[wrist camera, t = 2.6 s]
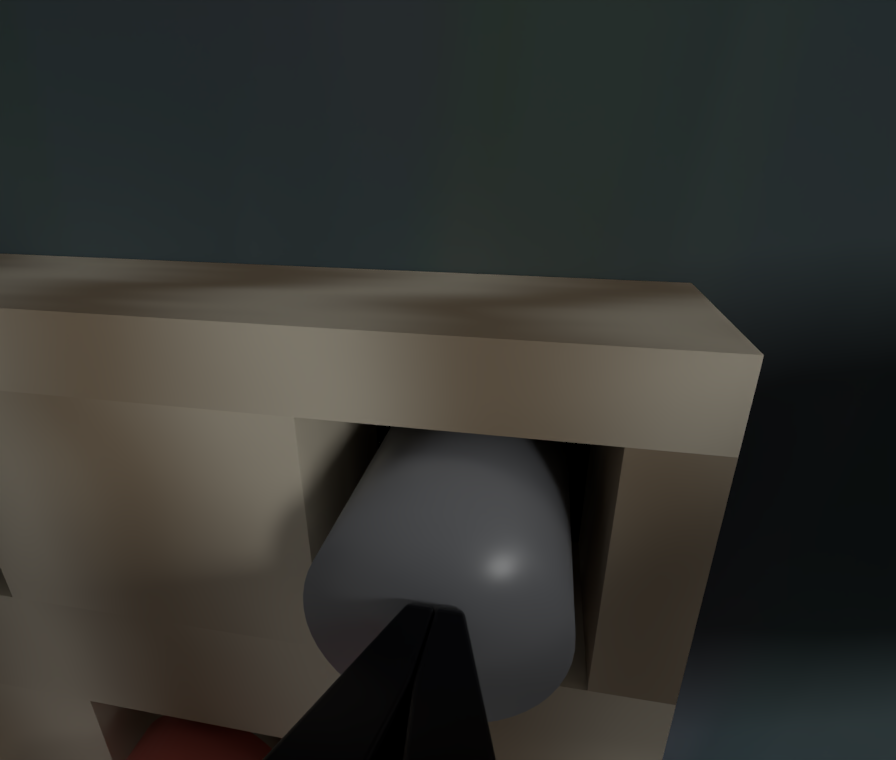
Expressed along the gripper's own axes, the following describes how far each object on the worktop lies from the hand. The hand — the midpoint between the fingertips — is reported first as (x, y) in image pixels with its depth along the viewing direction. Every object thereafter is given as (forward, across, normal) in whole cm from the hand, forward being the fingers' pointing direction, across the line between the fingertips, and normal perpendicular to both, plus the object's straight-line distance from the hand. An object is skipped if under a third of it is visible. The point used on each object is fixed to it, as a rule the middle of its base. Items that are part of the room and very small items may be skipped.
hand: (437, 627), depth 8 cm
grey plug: (+5, 0, 0) cm, 5 cm away
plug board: (+5, +6, +4) cm, 9 cm away
